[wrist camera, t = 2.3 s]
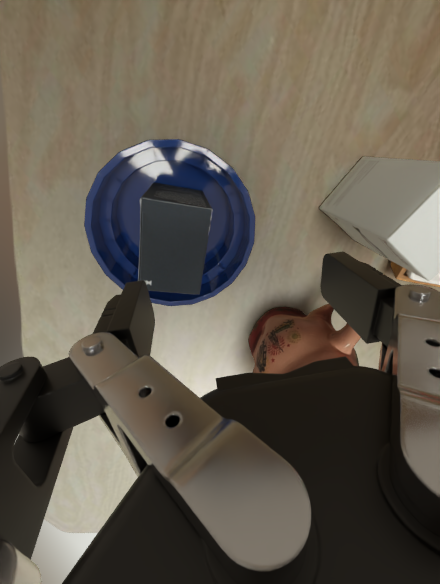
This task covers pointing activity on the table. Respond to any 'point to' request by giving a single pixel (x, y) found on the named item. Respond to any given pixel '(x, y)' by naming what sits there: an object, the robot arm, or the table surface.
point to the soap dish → (413, 276)
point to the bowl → (177, 172)
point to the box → (173, 238)
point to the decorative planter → (299, 340)
